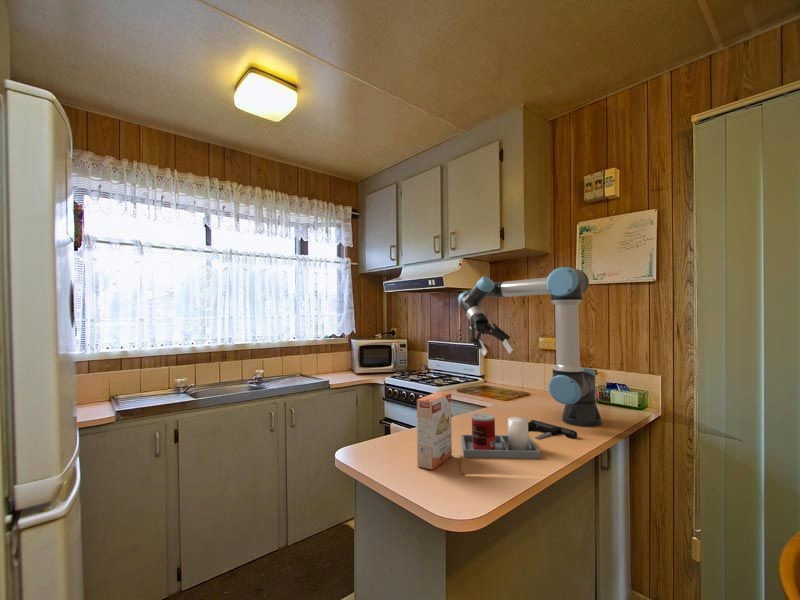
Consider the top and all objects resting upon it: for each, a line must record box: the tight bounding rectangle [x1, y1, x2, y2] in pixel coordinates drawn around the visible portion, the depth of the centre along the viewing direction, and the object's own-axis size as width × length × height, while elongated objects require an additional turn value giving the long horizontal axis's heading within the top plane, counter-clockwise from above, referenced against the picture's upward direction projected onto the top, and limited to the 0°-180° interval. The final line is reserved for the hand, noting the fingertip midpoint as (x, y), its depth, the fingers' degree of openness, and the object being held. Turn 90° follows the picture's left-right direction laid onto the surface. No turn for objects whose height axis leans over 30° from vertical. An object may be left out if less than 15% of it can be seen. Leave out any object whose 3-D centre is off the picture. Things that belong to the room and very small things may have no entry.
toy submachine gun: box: [528, 419, 578, 441], centre depth 146 cm, size 3×20×16 cm
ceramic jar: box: [507, 416, 530, 451], centre depth 129 cm, size 7×7×10 cm
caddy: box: [460, 434, 542, 460], centre depth 130 cm, size 24×16×3 cm, turn 84°
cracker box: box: [416, 391, 453, 471], centre depth 122 cm, size 14×6×21 cm, turn 148°
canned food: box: [471, 412, 496, 450], centre depth 131 cm, size 8×8×11 cm
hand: (498, 353), depth 165 cm, fingers open, 13 cm apart
